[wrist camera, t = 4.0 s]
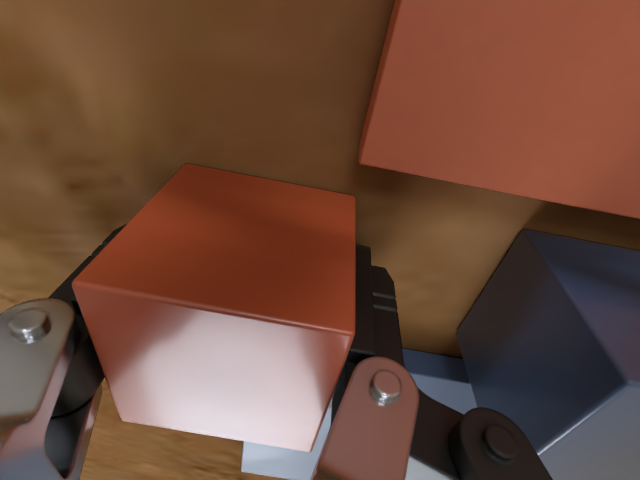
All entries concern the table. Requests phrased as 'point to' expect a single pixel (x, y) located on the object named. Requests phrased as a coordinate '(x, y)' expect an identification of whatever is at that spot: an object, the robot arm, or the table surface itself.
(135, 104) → the table surface
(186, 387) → the terracotta block
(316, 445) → the slate mat
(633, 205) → the terracotta mat
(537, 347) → the slate block
